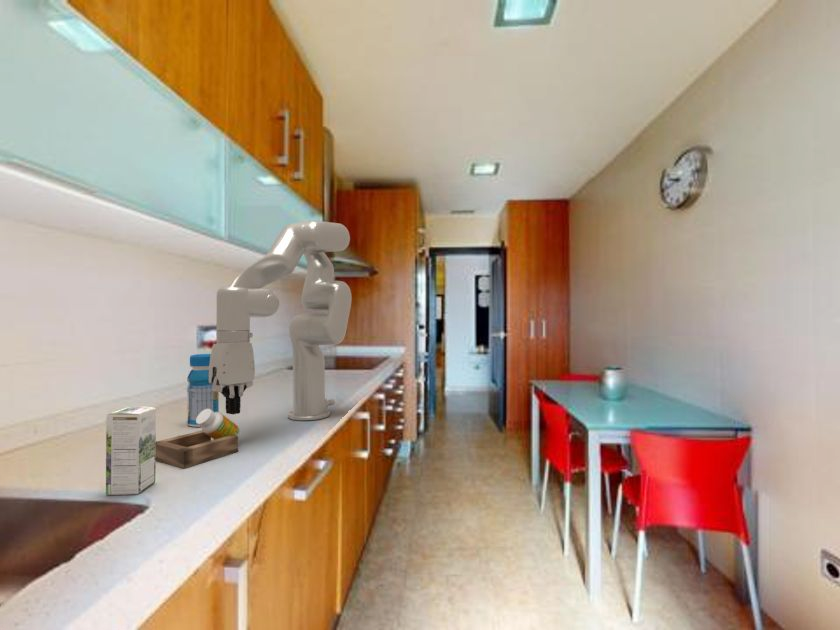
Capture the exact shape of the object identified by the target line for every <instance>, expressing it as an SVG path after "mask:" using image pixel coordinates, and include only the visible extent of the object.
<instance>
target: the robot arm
mask: <svg viewBox="0 0 840 630" xmlns="http://www.w3.org/2000/svg"><path fill="white" fill-rule="evenodd" d="M350 236H351V235H350V232H349V230H348V228H347V227H346V226H345V225H344V224H342V223H337V222H331V221H330V222H329V221H322V220H310V221H301V222H300V221H297V222H291V223H288V224H286V225H285V226H284V227H283V228H282V229H281V231H280V233H279V234H278V236H277V237H276V239H275V240H274V242H273V243H272V245H271V247H270V248H269V249H268V251H267V252H266V254H265V255H264V256H263V257H262V258H260V259H258V260H257V261H256V262H254V263H252V264H251V265H250V266H248V267H247V268H246V269H243V270H242V272H240V273H239V274H238V275H237V277H235V279H234V280H233V281H232V283H231V285H230V286H224V287H220V288H218V289H217V291H216V334H215V335H216V343H214V344H212V347H211V353H210V354H211V356H210V364H209V383H210V384H211V385H213V386H212V391H216V392H219V393H221V394H222V396H223V398H225V413H226V414H228V415H236V414H237V415H238V414H240V413H241V402H242V401H241V398H242V397H243V396H244V392H245V390H246V389H249V388H251V387H252V386H253V385H254V382H253V381H254V380H255V373H256V368H255V355H254V350H253V345H252V343H251V342H250V340H251V339H252V338H253V335H254V334H253V333H252V332H251V323H250V322H251V318H268V317H271V316H273V315H275V314H276V312H277V311H278V309H279V307H280V299H279V296H278V294H277V293H276V292H275V291H273V290H271V289H269V288H264V287H265V286H267V285H270V284H273V283H275V282H278V281H281V280H283V279H285V278H286V277H289V276H290V275H291V274H293V272H294V270H295V269H296V267H297V265H298V264H299V262H300V260H301V258H302V257H303V255H304V258H305V261H306V265H307V270H306V274H305V280H304V282H303V283H304V284H303V287H302V292H301V299H300V301H301V305H302V308H303V309H305V310H306V311H310V312H327V313H302V314H298V315H295V316H294V317H293V318H292V319H291V320H290V322H289V326H288V332H289V337H290V341H291V342H290V343H291V350H292V383H293V384H292V385H293V386H292V390H293V391H292V392H293V395H292V404H293V405H292V406H293V408H292V410H291V411H289V412H288V413H287V418H289V420H293V421H314V420H315V421H316V420H321V419H325V418H328V417H330V416H331V411H330V409H328V407H329V406H334V405H335V404H336V403H335V399H333V398H330V399H326V386H325V385H326V382H325V381H326V378H325V376H326V375H325V374H326V373H325V372H326V371H325V369H326V368H325V367H326V359H325V355H324V352H323V351H322V349H321V347H320V346H336V345H339V344H340V343H342V342H343V340H344V339H345V336H346V332H347V329H348V323H349V317H350V313H351V309H352V307H351V306H352V299H353V297H352V292H351V291H352V290H351V289H350V286H349V285H348V284H347V283H346V282H345V281H341V280H334V275H335V267H334V265H333V263H332V262H331V260H330V258H329V257H328V256H327V254H326V253H329V252H330V253H332V252H342V251H344V250H346V249H347V248H348V246H349V245H350V241H351V237H350Z"/></svg>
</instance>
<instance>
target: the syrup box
mask: <svg viewBox="0 0 840 630" xmlns="http://www.w3.org/2000/svg"><path fill="white" fill-rule="evenodd" d="M105 421H106V426H105V427H106V428H105V430H106V431H105V432H106V437H105V438H106V439H105V441H106V442H105V443H106V444H105V494H106V496H122V495H124V496H126V495H139V494H140V493H142V492H144V491H145V490H146V489H147V488H149V487H150V486H151V485H153V484H155V483H156V471H157V469H156V442H157V439H156V438H157V435H156V434H157V408H155V407H152V406H128V407H124V408H122V409H119V410H116V411H112V412H110V413H107V414H106V419H105Z"/></svg>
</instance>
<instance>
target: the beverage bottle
mask: <svg viewBox="0 0 840 630" xmlns="http://www.w3.org/2000/svg"><path fill="white" fill-rule="evenodd" d="M210 356H211V353H200V354H199V353H197V354H191V355H190V356H189V366H190V368H192V369H191V370H190V372H189V373H188V375H187V378H186V380H187V382H188V385H187V386H186V392H187V393H186V394H187V425H188V426H189V427H193V428H201V426H200V425H198V424H197V423H196V418H197V416H198V415H199V414H200V413H201V412H202V411H203V410H205V409H210V410H212V411H213V412H219V413H220V410H219V403H220V402H219V393H220V392H216V391H212V386H213V385H211V384H210V383H209V364H210Z"/></svg>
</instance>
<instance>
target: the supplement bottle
mask: <svg viewBox="0 0 840 630" xmlns="http://www.w3.org/2000/svg"><path fill="white" fill-rule="evenodd" d="M196 423H197V424H198V425H200V426H201V427H200V428H201V430H202V431H203V432H204V433H205V434H207V435H208V436H210V437H211V439H212V440H215V439H219V438H223V437H226V436H230V435H236V436H238V438H239V437H240V434H241V430H240V427H239V426H238V425H237V424H236V423H234V422H233V421H231V420H230V419H229V418H228V417H227V416H225V415H224V414H222V413H221V412H220V411H219V412H213V411H212V410H210V409H205V410H203V411H202V412H201V413H200V414H199V415H198V416H197V418H196Z"/></svg>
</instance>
